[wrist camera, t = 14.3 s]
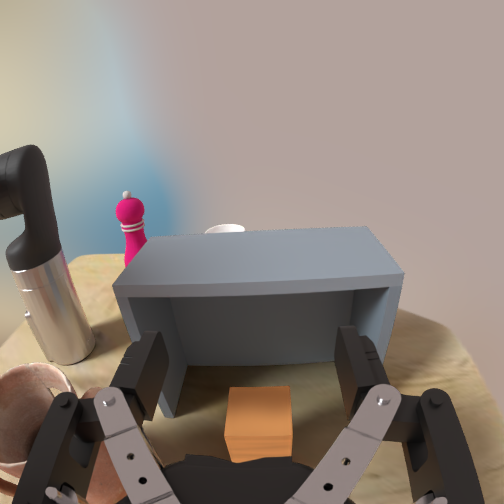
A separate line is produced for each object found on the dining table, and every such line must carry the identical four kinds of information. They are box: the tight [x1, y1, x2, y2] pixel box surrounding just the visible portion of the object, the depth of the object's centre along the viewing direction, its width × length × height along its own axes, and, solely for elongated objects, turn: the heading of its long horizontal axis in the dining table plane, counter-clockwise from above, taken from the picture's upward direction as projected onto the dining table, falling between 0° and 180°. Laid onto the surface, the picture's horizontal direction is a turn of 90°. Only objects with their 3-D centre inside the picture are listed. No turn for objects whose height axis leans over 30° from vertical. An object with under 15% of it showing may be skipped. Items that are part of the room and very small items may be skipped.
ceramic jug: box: [0, 362, 127, 504], centre depth 19 cm, size 18×14×14 cm
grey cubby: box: [112, 226, 404, 418], centre depth 32 cm, size 11×24×19 cm, turn 88°
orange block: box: [224, 386, 293, 463], centre depth 24 cm, size 5×5×11 cm
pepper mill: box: [116, 191, 147, 267], centre depth 60 cm, size 7×7×20 cm
